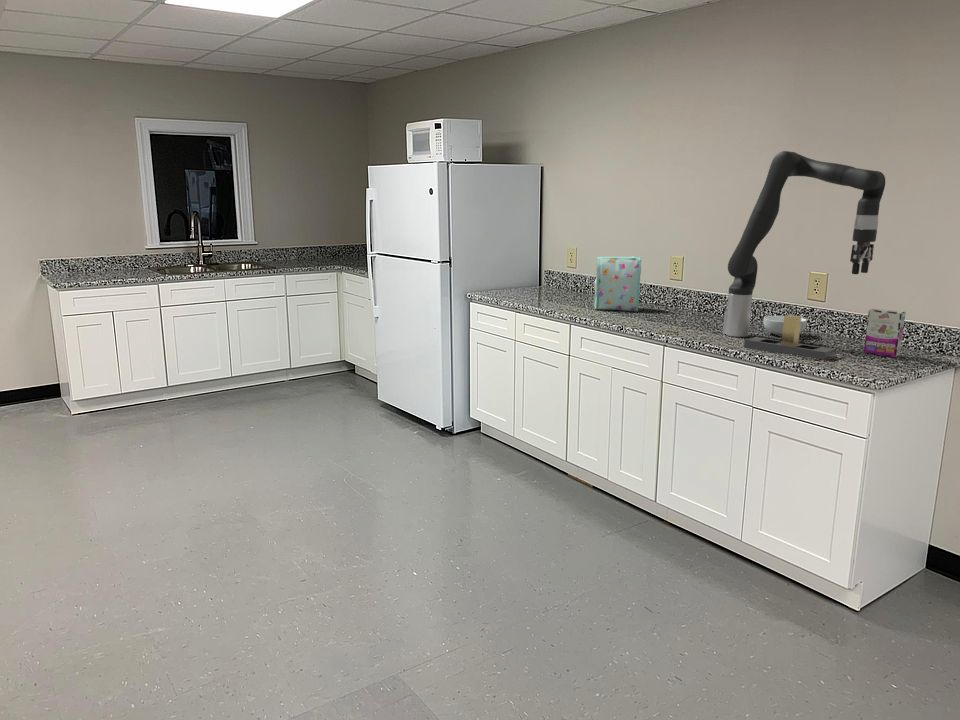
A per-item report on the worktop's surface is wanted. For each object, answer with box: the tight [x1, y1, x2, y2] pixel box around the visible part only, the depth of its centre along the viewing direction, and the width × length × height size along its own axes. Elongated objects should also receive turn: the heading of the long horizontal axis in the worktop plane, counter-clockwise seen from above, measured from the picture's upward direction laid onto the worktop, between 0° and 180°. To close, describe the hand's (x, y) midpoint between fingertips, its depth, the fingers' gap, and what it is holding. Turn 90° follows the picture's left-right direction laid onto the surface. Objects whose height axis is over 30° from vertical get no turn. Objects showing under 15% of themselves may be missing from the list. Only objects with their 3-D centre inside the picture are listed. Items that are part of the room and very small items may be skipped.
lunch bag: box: [593, 255, 642, 312], centre depth 371 cm, size 23×16×27 cm
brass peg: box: [781, 314, 802, 344], centre depth 280 cm, size 4×4×12 cm
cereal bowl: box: [763, 315, 808, 337], centre depth 307 cm, size 17×17×7 cm
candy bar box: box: [863, 308, 906, 358], centre depth 269 cm, size 11×5×16 cm, turn 45°
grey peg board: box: [743, 336, 837, 361], centre depth 271 cm, size 30×9×3 cm, turn 43°
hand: (859, 273), depth 267 cm, fingers open, 8 cm apart
